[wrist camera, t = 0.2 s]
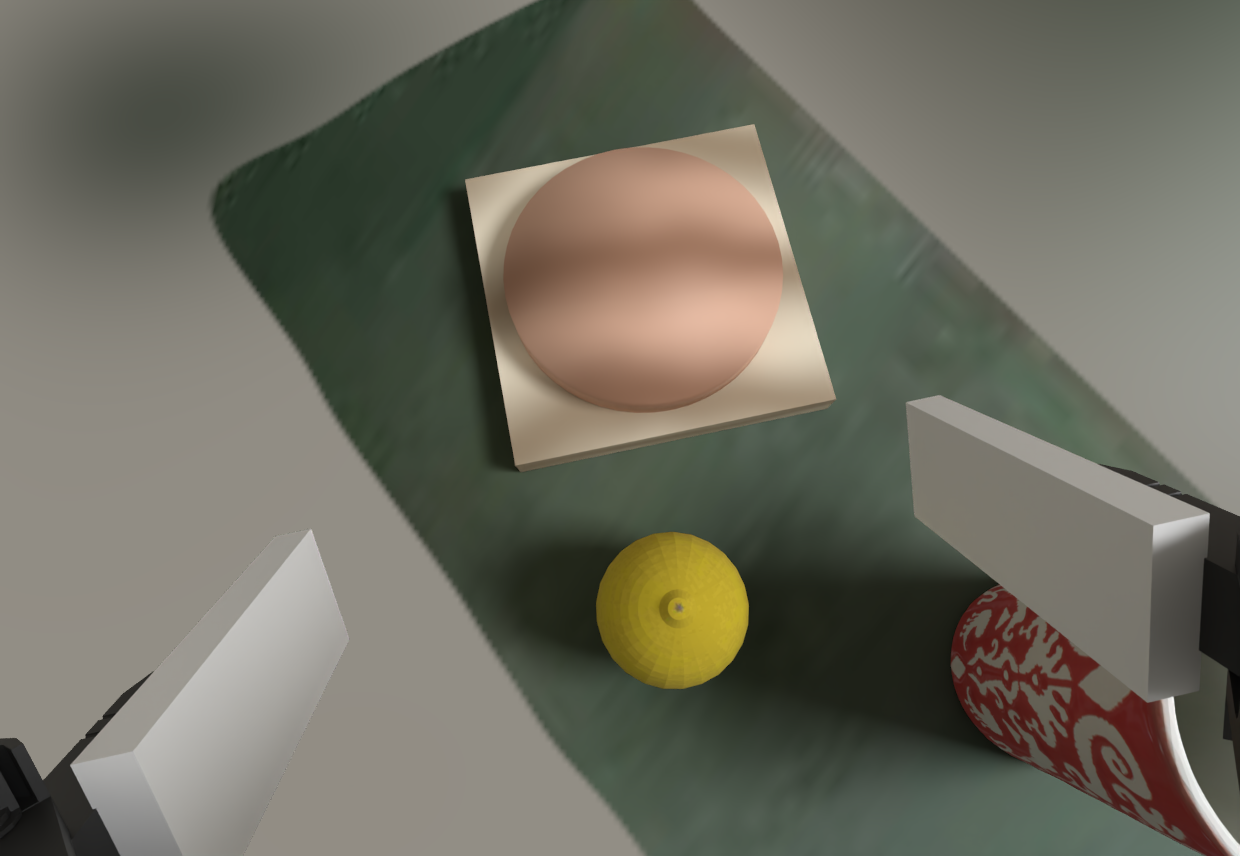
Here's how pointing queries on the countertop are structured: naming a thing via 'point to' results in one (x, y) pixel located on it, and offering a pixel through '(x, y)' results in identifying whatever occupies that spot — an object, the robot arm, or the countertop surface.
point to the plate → (643, 298)
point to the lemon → (672, 610)
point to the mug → (1099, 725)
